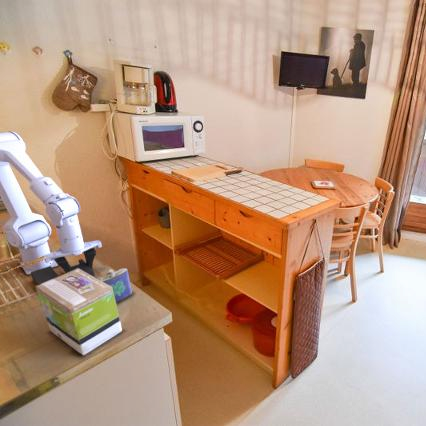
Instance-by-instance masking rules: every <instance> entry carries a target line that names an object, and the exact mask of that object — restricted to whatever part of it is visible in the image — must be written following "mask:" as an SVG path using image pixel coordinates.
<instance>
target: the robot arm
mask: <svg viewBox="0 0 426 426" xmlns="http://www.w3.org/2000/svg"><path fill="white" fill-rule="evenodd" d="M26 149H27V147H26V143H25V142H24V140H23V138H22V137H21V136H20V135H19V134H18V133H17V132H15V131H12V130H10V131H9V130H8V131H6V132H0V199H1V201H2V202H3V203H2V204H4V207H5V209H6V210H7V213H8V215H9V216H10V217H9V219H8V220H7V221H6V222H5V224H4V225H3V227H2V228H3V230H4V232H5V239H6V241H7V242H8V243H9V244H10V245H11V246H12V247H15V248H18V251H19V255H20V257H21V261H20V262H19V264H20V265H21V264H23V263H27V262H31V261H33V260H35V259H37V258H40V257H42V256H44V257H45V256H46V258H45V259H44V260H43V261H40V262H38V263H35V264H32V265H28V266H25V267H22V266H21V267H22V269H23V271H24V272H25V274H26V275H31V272H33V271H36V270H39V269H43V268H46V267H49V266H51V267H52V268H54V267H57V266H59V267H60V268H61V269H63V271H64V272H65V274H66V273H68V272H70V270H69V265H70V264H69V261H68V260H67V258H66V257H69V256H79V255H82V254H83V256H84V259H85V263H86V264H87V265H88V266H89V267H90V268H91V269H92V270H93V264H94V260H95V257H96V255H97V251H96V249H97V248H98V249H100V248H103V245H102V241H101V240H100V239H98V240H91V241H86V242H84V239H83V234H82V229H81V225H80V221H79V217H78V214H79V213H80V212H81V205H80V203H79V201H78V200H77V198H75V197H74V196H72V195H70V194H69V193H64V191H63V190H62V189H61V188H60V187H59V185H57V183H56V182H55V181H54V180H53V178H51V177H48V176H44V175H43V174H42V172H41V171H40V170H39V168H38V167H37V166H36V165H35V162H33V160H32V159H31V158H30V156H29V155H28V154H27V153H26ZM11 166H12V167H13V168H14V169H15V170H16V171H17V172H18V173H19V174H20V175H21V176H22V177H24V178H25V179H26V180H27V181H28V183H29V190H30V191H31V192H32V193H33V194H34V195H35V196H36V198H37V199H38V200H39V201H40V202H41V203H42V204H43V205H44V207H45V209H44V211H45V214H46V215H47V217H48V218H49V219H50V221H51V224H52V225H53V226H54V227H55V231H56V234H57V239H58V243H59V246H60V248H59V249H57V250H54V251H52V252H51V249H50V246H49V243H48V240H50V238H49V237H50V236H51V234H52V227H51V226H50V224H49V222H47V221H46V219H45V218H44V216H43V215H41V214H38V213H35V212H32V210H31V208H30V205H29V203H28V201H27V199H26V197H25V195H24V193H23V191H22V188H21V187H20V184H19V182H18V180H17V178H16V176H15V174H14V172H13V170H12V168H11ZM50 263H51V264H50ZM68 264H69V265H68Z"/></svg>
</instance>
